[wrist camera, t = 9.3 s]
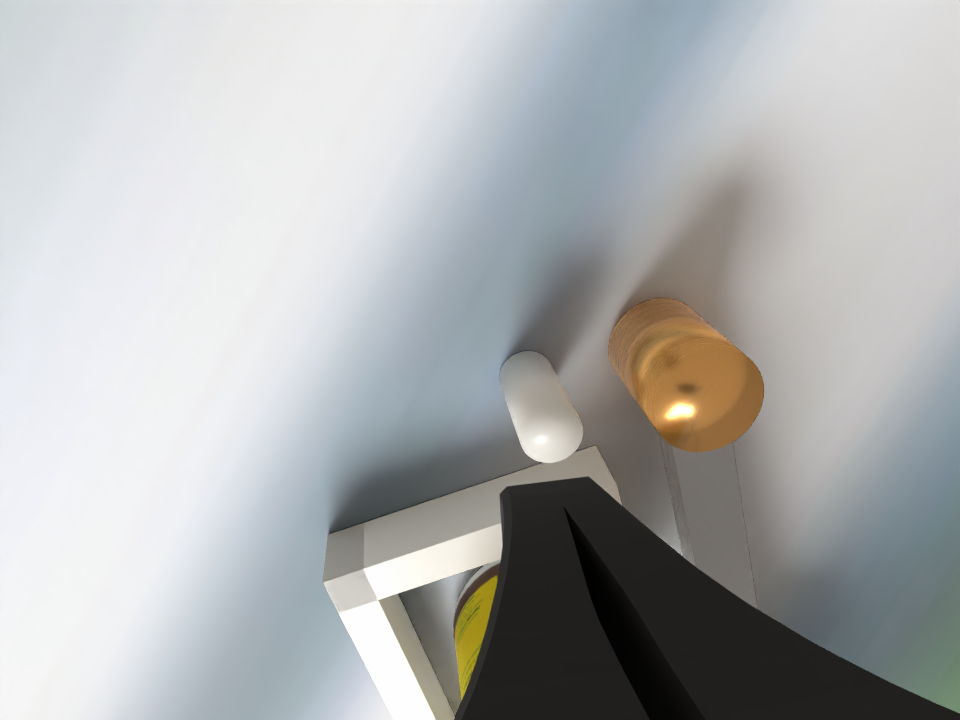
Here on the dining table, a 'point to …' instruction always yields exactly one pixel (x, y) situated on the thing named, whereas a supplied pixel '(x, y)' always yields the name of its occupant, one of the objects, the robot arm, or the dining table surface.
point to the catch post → (540, 408)
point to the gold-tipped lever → (694, 427)
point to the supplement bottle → (473, 619)
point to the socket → (424, 574)
